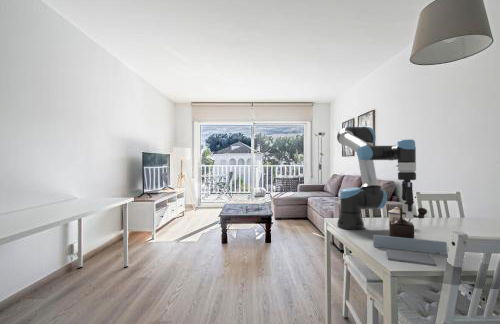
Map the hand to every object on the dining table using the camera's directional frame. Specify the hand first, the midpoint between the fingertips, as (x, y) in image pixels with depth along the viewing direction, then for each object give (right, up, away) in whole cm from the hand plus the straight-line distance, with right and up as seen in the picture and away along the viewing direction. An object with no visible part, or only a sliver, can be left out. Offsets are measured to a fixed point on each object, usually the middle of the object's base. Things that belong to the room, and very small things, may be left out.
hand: (407, 216), depth 127 cm
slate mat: (-11, -13, -19) cm, 25 cm away
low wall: (-5, -13, -9) cm, 17 cm away
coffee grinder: (0, -13, 0) cm, 13 cm away
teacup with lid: (+14, -13, +32) cm, 38 cm away
